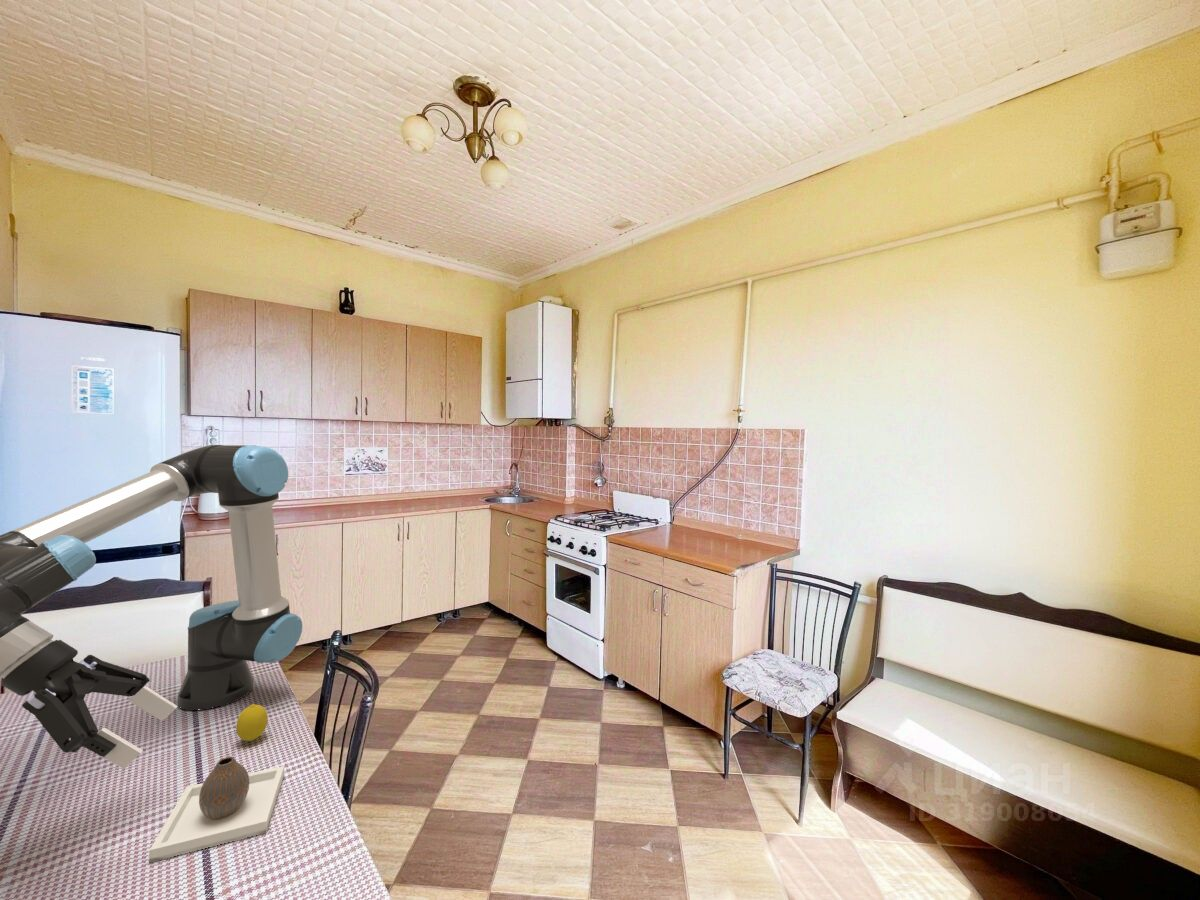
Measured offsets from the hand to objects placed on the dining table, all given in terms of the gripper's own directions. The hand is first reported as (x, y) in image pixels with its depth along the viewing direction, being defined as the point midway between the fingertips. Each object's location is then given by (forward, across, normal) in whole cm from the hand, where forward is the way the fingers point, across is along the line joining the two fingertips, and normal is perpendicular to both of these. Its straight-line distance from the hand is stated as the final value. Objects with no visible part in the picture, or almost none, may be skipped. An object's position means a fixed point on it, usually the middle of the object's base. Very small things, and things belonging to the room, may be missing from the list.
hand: (153, 735), depth 79 cm
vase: (+18, 0, -4) cm, 18 cm away
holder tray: (+18, 0, -4) cm, 19 cm away
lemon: (+18, -23, -5) cm, 30 cm away
